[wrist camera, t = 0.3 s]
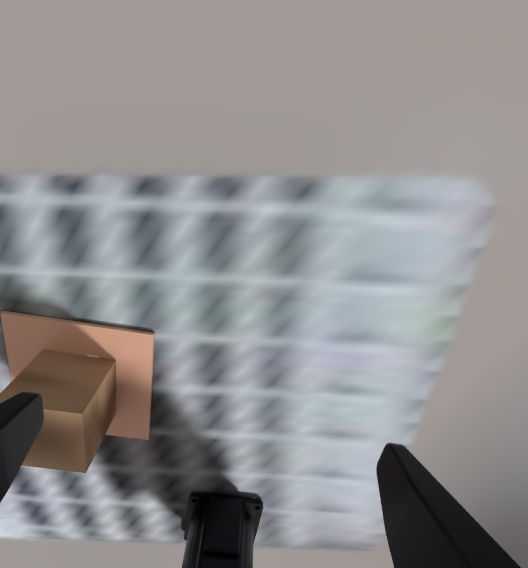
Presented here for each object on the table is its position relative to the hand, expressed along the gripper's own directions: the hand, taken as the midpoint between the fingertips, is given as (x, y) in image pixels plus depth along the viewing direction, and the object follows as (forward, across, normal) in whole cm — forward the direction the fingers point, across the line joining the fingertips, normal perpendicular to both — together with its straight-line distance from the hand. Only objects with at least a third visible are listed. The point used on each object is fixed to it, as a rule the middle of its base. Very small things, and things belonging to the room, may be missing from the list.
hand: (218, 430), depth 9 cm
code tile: (+14, +10, +12) cm, 21 cm away
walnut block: (+14, +10, +12) cm, 21 cm away
